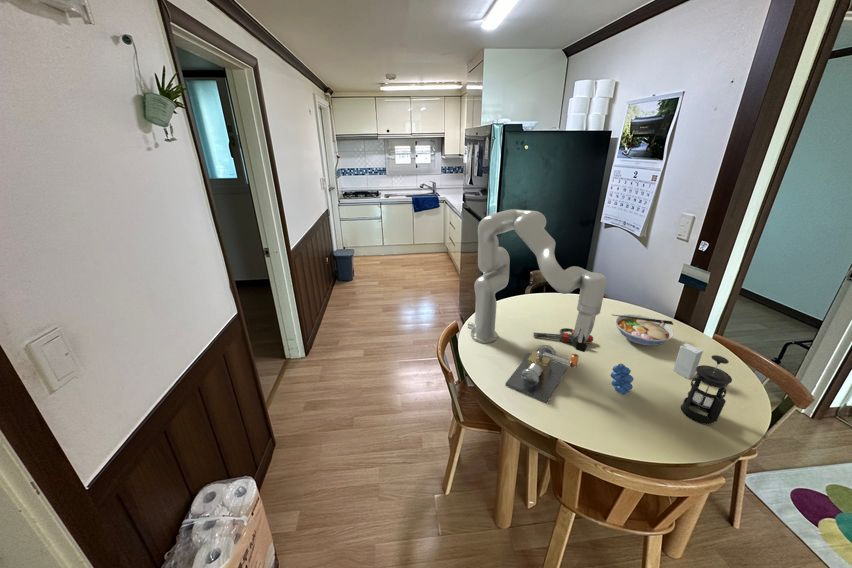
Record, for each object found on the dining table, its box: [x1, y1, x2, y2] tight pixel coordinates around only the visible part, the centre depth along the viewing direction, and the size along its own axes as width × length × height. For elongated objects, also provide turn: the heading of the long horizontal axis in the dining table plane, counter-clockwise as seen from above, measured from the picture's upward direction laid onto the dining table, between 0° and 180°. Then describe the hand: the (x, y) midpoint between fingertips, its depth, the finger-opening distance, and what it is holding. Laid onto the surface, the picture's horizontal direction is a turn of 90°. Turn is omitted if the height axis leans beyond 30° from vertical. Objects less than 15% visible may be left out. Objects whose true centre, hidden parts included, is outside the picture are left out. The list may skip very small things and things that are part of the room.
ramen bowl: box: [612, 313, 674, 346], centre depth 152 cm, size 25×23×8 cm
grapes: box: [610, 363, 634, 395], centre depth 121 cm, size 12×7×12 cm, turn 178°
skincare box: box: [672, 343, 704, 380], centre depth 130 cm, size 6×4×12 cm
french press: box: [680, 354, 733, 425], centre depth 108 cm, size 12×9×23 cm
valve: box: [533, 327, 594, 349], centre depth 156 cm, size 6×26×15 cm
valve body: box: [504, 344, 568, 404], centre depth 130 cm, size 16×24×10 cm, turn 143°
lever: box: [536, 349, 580, 369], centre depth 123 cm, size 15×3×5 cm, turn 53°
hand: (580, 349), depth 125 cm, fingers closed
